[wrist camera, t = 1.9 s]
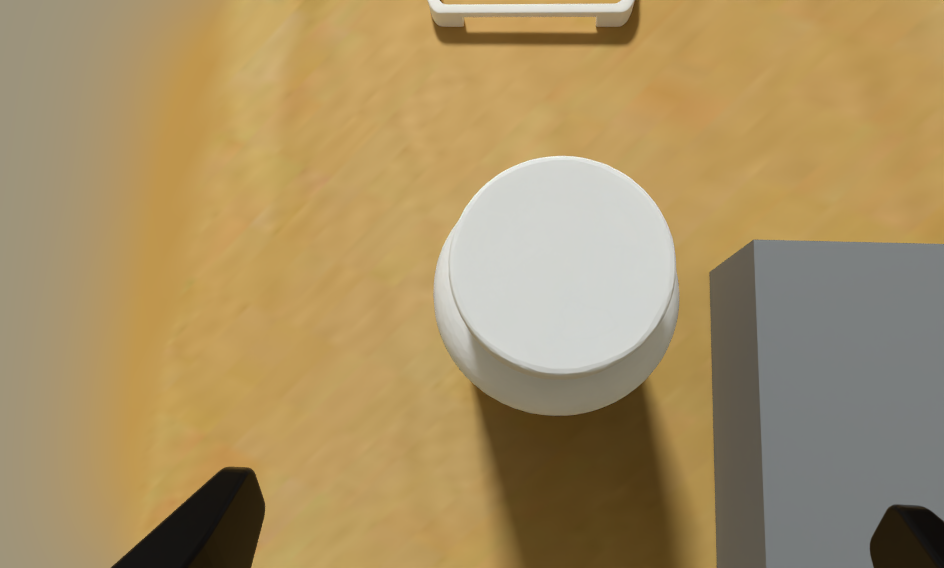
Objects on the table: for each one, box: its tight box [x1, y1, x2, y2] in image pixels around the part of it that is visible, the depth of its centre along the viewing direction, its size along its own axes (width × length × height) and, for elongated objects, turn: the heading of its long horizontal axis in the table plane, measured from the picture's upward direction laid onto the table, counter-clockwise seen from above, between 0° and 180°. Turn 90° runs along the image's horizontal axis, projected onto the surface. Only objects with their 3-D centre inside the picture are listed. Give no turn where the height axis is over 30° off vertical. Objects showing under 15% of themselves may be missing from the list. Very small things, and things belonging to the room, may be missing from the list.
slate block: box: [710, 240, 944, 568], centre depth 17 cm, size 9×9×4 cm
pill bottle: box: [434, 156, 679, 416], centre depth 16 cm, size 5×5×10 cm
